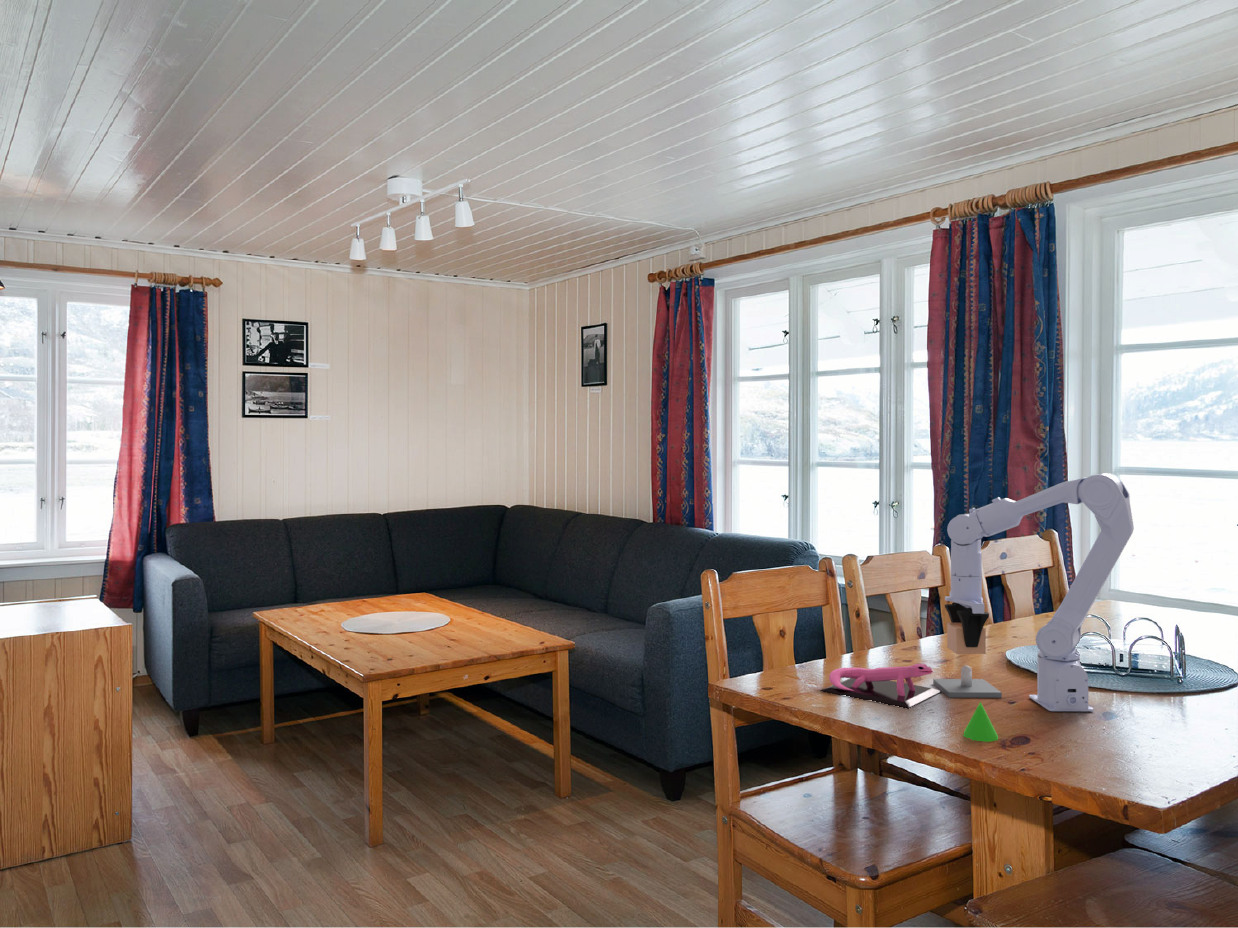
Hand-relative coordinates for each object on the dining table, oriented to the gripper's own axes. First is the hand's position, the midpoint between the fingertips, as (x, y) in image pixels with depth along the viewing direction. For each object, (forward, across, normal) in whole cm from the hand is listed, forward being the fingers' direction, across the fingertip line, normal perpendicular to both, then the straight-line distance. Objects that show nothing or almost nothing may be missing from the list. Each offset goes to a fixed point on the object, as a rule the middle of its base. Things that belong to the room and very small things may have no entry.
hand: (966, 643), depth 178 cm
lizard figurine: (+10, +2, -17) cm, 20 cm away
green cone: (+10, +28, -7) cm, 30 cm away
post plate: (+9, 0, 0) cm, 9 cm away
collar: (+1, 0, 0) cm, 1 cm away
